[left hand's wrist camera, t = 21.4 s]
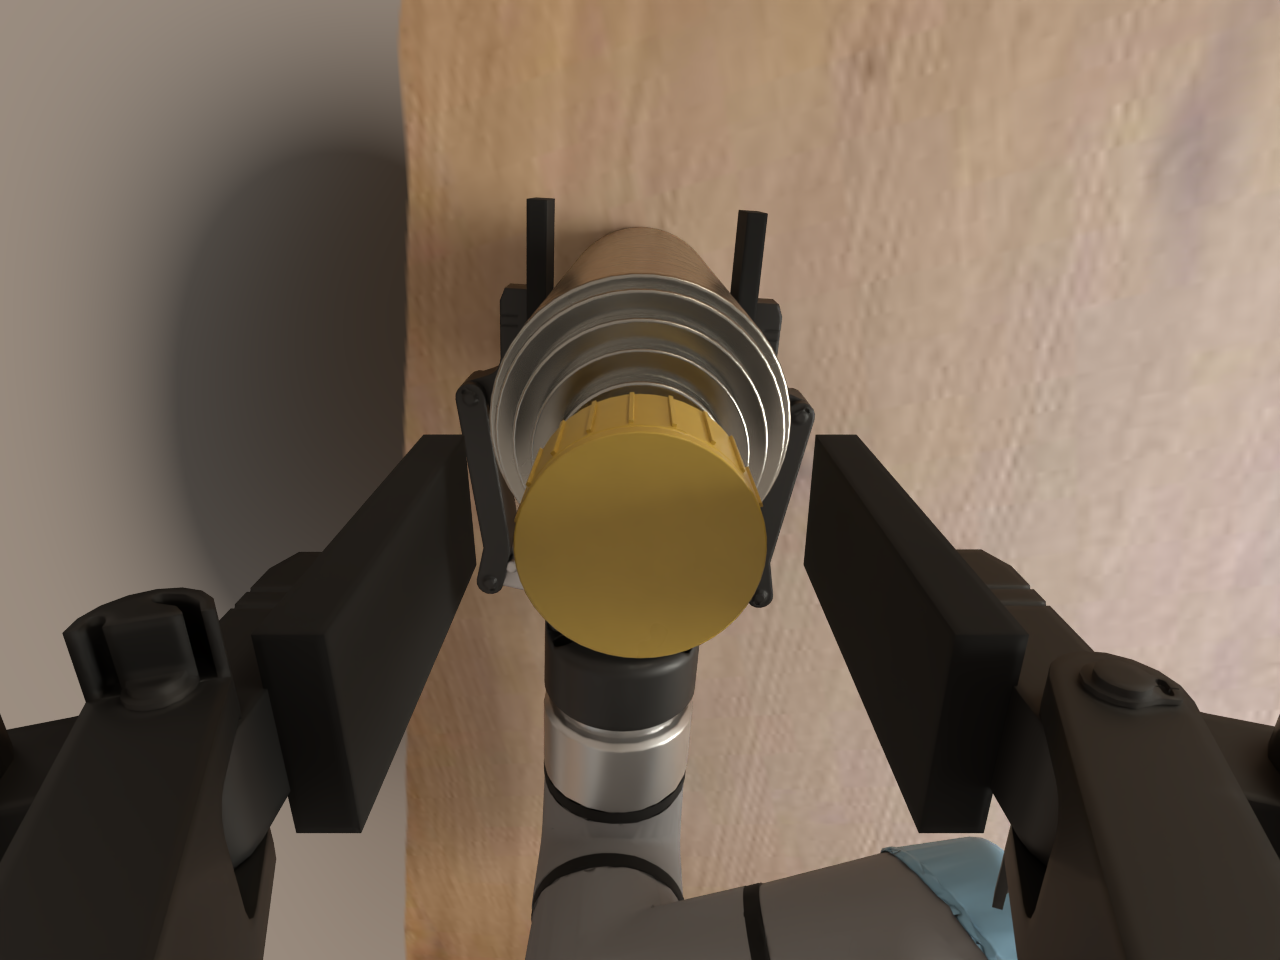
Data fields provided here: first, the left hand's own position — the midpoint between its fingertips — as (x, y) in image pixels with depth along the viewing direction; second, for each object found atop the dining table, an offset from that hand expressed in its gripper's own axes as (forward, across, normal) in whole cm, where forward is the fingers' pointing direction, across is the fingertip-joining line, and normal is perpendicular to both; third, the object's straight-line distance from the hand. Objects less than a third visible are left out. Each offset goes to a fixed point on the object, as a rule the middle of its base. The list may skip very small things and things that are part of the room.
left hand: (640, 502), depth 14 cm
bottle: (+24, 0, 0) cm, 24 cm away
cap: (-2, 0, 0) cm, 2 cm away
